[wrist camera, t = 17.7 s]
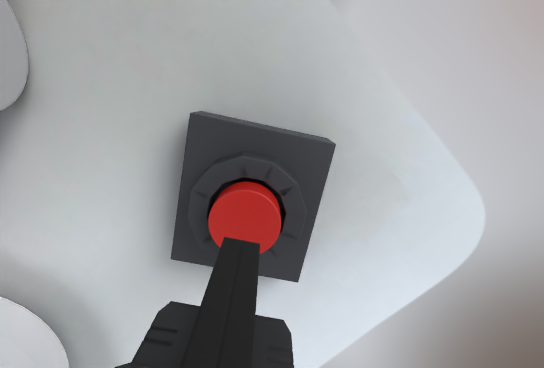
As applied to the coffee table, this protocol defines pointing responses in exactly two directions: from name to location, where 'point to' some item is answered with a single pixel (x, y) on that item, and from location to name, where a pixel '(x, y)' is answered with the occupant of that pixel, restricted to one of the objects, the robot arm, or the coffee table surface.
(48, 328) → the bowl
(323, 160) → the control box
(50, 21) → the coffee table surface
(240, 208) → the stop button
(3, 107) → the game controller
